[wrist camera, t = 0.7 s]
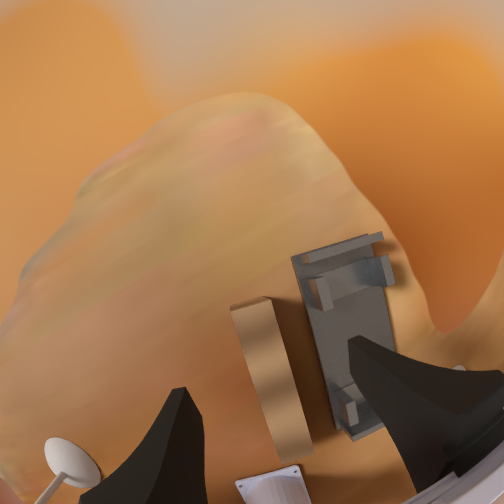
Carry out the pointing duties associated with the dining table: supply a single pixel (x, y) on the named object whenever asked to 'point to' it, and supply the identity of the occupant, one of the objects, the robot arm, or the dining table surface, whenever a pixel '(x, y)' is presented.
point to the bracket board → (346, 319)
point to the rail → (272, 377)
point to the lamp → (68, 467)
